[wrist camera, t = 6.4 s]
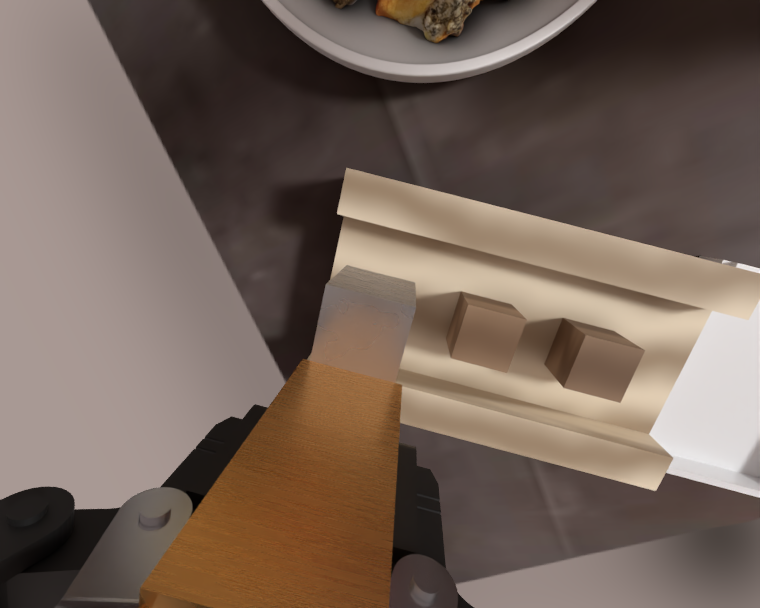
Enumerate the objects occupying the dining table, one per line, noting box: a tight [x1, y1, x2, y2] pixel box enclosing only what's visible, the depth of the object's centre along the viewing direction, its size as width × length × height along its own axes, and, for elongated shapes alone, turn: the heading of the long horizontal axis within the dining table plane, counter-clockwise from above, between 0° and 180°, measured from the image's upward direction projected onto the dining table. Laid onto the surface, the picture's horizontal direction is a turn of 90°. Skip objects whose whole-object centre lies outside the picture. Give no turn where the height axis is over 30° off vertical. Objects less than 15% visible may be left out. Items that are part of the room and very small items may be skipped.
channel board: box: [307, 168, 760, 491], centre depth 30 cm, size 17×28×7 cm, turn 76°
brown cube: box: [544, 318, 645, 403], centre depth 27 cm, size 4×4×4 cm
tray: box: [649, 256, 760, 498], centre depth 31 cm, size 18×14×3 cm
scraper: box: [138, 265, 416, 608], centre depth 11 cm, size 9×4×12 cm, turn 167°
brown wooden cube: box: [446, 291, 527, 373], centre depth 28 cm, size 4×4×4 cm
